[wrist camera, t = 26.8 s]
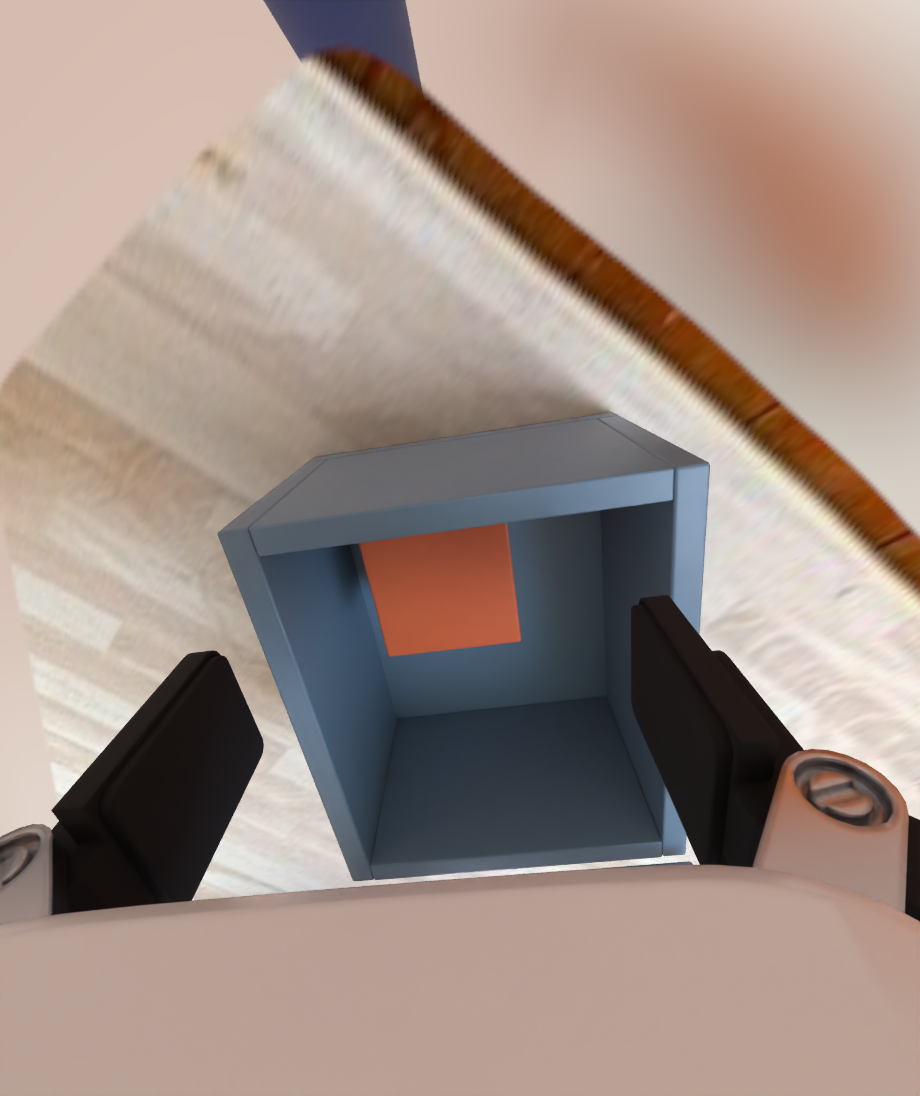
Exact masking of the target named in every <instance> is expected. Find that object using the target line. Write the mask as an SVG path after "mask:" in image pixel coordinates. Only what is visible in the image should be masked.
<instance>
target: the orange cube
mask: <svg viewBox="0 0 920 1096" xmlns="http://www.w3.org/2000/svg"><path fill="white" fill-rule="evenodd" d="M359 546H360V550H361V554H362V558H363V562H364V565H365V569H366V573H367V577H368V581H369V584H370V588H371V592H372V596H373V600H374V604H375V607H376V611H377V615H378V619H379V623H380V627H381V630H382V634H383V638H384V642H385V646H386V650H387V653H388V656H389V657H392V656H401V655H409V654H418V653H427V652H435V651H444V650H452V649H461V648H469V647H478V646H487V645H495V644H504V643H512V642H520V641H521V632H520V624H519V616H518V607H517V599H516V591H515V582H514V574H513V566H512V557H511V549H510V540H509V532H508V524H507V523H504V524H496V525H489V526H482V527H474V528H467V529H460V530H452V531H445V532H438V533H430V534H423V535H416V536H408V537H401V538H394V539H386V540H379V541H372V542H364V543H359Z"/></svg>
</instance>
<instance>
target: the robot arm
mask: <svg viewBox="0 0 920 1096" xmlns="http://www.w3.org/2000/svg"><path fill="white" fill-rule="evenodd" d="M631 702H632V708H633V712H634V715H635V718H636V720H637V723H638V725H639V727H640V729H641V732H642V734H643V736H644V739H645V741H646V743H647V745H648V748H649V750H650V752H651V755H652V757H653V759H654V761H655V764H656V766H657V768H658V771H659V773H660V775H661V777H662V780H663V782H664V784H665V787H666V789H667V791H668V793H669V796H670V798H671V800H672V802H673V805H674V807H675V809H676V812H677V814H678V816H679V818H680V821H681V823H682V825H683V828H684V830H685V832H686V834H687V837H688V839H689V841H690V844H691V846H692V848H693V850H694V853H695V855H696V857H697V859H698V861H699V864H700V865H659V866H642V867H624V868H606V869H589V870H571V871H558V872H545V873H531V874H518V875H505V876H491V877H478V878H465V879H452V880H438V881H425V882H413V883H400V884H388V885H375V886H363V887H351V888H338V889H326V890H314V891H302V892H290V893H278V894H265V895H254V896H243V897H231V898H220V899H208V900H197V901H192V899H193V897H194V895H195V893H196V891H197V889H198V886H199V884H200V882H201V880H202V878H203V876H204V874H205V872H206V870H207V868H208V866H209V864H210V862H211V860H212V858H213V855H214V853H215V851H216V849H217V847H218V845H219V843H220V841H221V839H222V837H223V835H224V833H225V831H226V829H227V827H228V825H229V822H230V820H231V818H232V816H233V814H234V812H235V810H236V808H237V806H238V804H239V802H240V800H241V798H242V796H243V794H244V791H245V789H246V787H247V785H248V783H249V781H250V779H251V777H252V775H253V773H254V771H255V769H256V767H257V765H258V763H259V760H260V758H261V756H262V754H263V747H264V744H263V739H262V736H261V734H260V732H259V730H258V727H257V725H256V723H255V721H254V718H253V716H252V714H251V711H250V709H249V707H248V705H247V702H246V700H245V698H244V696H243V693H242V691H241V689H240V686H239V684H238V682H237V680H236V677H235V675H234V673H233V671H232V668H231V666H230V664H229V662H228V660H227V658H226V657H225V656H221V655H220V654H219V653H218V652H217V651H205V652H197V653H190V654H188V655H186V656H185V657H184V658H183V660H182V661H181V662H180V663H179V664H178V665H177V666H176V668H175V669H174V670H173V671H172V672H171V673H170V674H169V676H168V677H167V678H166V679H165V680H164V681H163V683H162V684H161V685H160V686H159V687H158V688H157V689H156V691H155V692H154V693H153V694H152V695H151V696H150V697H149V699H148V700H147V701H146V702H145V703H144V704H143V706H142V707H141V708H140V709H139V710H138V711H137V712H136V714H135V715H134V716H133V717H132V718H131V719H130V720H129V722H128V723H127V724H126V725H125V726H124V727H123V729H122V730H121V731H120V732H119V733H118V734H117V735H116V737H115V738H114V739H113V740H112V741H111V742H110V743H109V745H108V746H107V747H106V748H105V749H104V750H103V752H102V753H101V754H100V755H99V756H98V757H97V758H96V760H95V761H94V762H93V763H92V764H91V765H90V766H89V768H88V769H87V770H86V771H85V772H84V773H83V775H82V776H81V777H80V778H79V779H78V780H77V781H76V783H75V784H74V785H73V786H72V787H71V788H70V790H69V791H68V792H67V793H66V794H65V795H64V796H63V798H62V799H61V800H60V801H59V802H58V803H57V804H56V806H55V807H54V808H53V809H52V812H53V813H54V815H55V816H56V817H57V819H58V820H59V822H58V823H57V825H56V826H55V827H54V828H53V829H52V830H51V829H50V828H49V827H46V826H45V825H43V824H34V825H33V824H32V825H29V826H25V827H21V828H19V829H16V830H14V831H12V832H9V833H8V834H5V835H3V836H1V837H0V1096H920V820H918V819H916V818H914V817H912V816H909V815H908V810H907V805H906V802H905V800H904V799H903V797H902V796H901V794H900V792H899V791H898V789H897V788H896V787H895V786H894V785H893V784H892V783H891V782H890V781H889V780H888V779H887V778H886V777H885V776H883V775H882V774H881V773H879V772H878V771H876V770H875V769H873V768H872V767H870V766H869V765H867V764H866V763H863V762H861V761H859V760H857V759H854V758H852V757H850V756H848V755H844V754H840V753H837V752H833V751H829V750H817V749H810V750H803V748H802V747H801V746H800V745H799V743H798V742H797V741H796V740H795V738H794V737H793V736H792V735H791V734H790V732H789V731H788V730H787V729H786V727H785V726H784V725H783V724H782V722H781V721H780V720H779V719H778V717H777V716H776V715H775V714H774V712H773V711H772V710H771V709H770V707H769V706H768V705H767V704H766V703H765V701H764V700H763V699H762V698H761V696H760V695H759V694H758V693H757V691H756V690H755V689H754V688H753V686H752V685H751V684H750V683H749V681H748V680H747V679H746V678H745V677H744V675H743V674H742V673H741V672H740V670H739V669H738V668H737V667H736V665H735V664H734V663H733V662H732V660H731V659H730V658H729V657H728V656H727V655H726V654H725V653H724V652H722V651H719V650H718V651H711V649H710V648H709V647H708V645H707V644H706V643H705V642H704V640H703V639H702V638H701V636H700V635H699V634H698V632H697V631H696V630H695V629H694V627H693V626H692V625H691V623H690V622H689V621H688V619H687V618H686V617H685V616H684V614H683V613H682V612H681V610H680V609H679V608H678V606H677V605H676V604H675V603H674V601H673V600H672V599H671V597H670V596H668V595H661V596H653V597H645V598H641V599H640V600H639V605H634V606H632V607H631Z"/></svg>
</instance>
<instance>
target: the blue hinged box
mask: <svg viewBox="0 0 920 1096" xmlns="http://www.w3.org/2000/svg"><path fill="white" fill-rule="evenodd" d="M709 473H710V465H709V463H708V462H706V461H704V460H702V459H701V458H699V457H697V456H695V455H693V454H691V453H689V452H687V451H685V450H683V449H681V448H679V447H678V446H676V445H674V444H672V443H670V442H668V441H666V440H664V439H662V438H660V437H658V436H656V435H655V434H653V433H651V432H649V431H647V430H645V429H643V428H641V427H639V426H637V425H635V424H634V423H632V422H630V421H628V420H626V419H624V418H622V417H620V416H618V415H617V414H615V413H612V412H610V413H603V414H597V415H590V416H584V417H577V418H570V419H564V420H557V421H551V422H544V423H537V424H531V425H524V426H518V427H511V428H505V429H498V430H491V431H485V432H478V433H472V434H465V435H458V436H452V437H445V438H439V439H432V440H425V441H419V442H412V443H406V444H399V445H392V446H386V447H379V448H373V449H366V450H359V451H353V452H346V453H340V454H333V455H326V456H320V457H314V458H313V459H311V460H310V461H309V462H308V463H306V464H305V465H304V466H302V467H301V468H300V469H299V470H297V471H296V472H295V473H293V474H292V475H291V476H290V477H288V478H287V479H286V480H284V481H283V482H282V483H281V484H279V485H278V486H277V487H275V488H274V489H273V490H272V491H270V492H269V493H268V494H267V495H265V496H264V497H263V498H261V499H260V500H259V501H258V502H256V503H255V504H254V505H252V506H251V507H250V508H249V509H247V510H246V511H245V512H243V513H242V514H241V515H240V516H238V517H237V518H236V519H234V520H233V521H232V522H231V523H229V524H228V525H227V526H226V527H224V528H223V529H222V530H220V531H219V532H218V536H219V539H220V542H221V544H222V547H223V549H224V552H225V554H226V557H227V559H228V562H229V565H230V567H231V570H232V572H233V575H234V577H235V580H236V582H237V585H238V588H239V590H240V593H241V595H242V598H243V600H244V603H245V605H246V608H247V611H248V613H249V616H250V618H251V621H252V623H253V626H254V629H255V631H256V634H257V636H258V639H259V641H260V644H261V646H262V649H263V652H264V654H265V657H266V659H267V662H268V664H269V667H270V669H271V672H272V675H273V677H274V680H275V682H276V685H277V687H278V690H279V692H280V695H281V698H282V700H283V703H284V705H285V708H286V710H287V713H288V715H289V718H290V721H291V723H292V726H293V728H294V731H295V733H296V736H297V738H298V741H299V744H300V746H301V749H302V751H303V754H304V756H305V759H306V761H307V764H308V767H309V769H310V772H311V774H312V777H313V779H314V782H315V785H316V787H317V790H318V792H319V795H320V797H321V800H322V802H323V805H324V808H325V810H326V813H327V815H328V818H329V820H330V823H331V825H332V828H333V831H334V833H335V836H336V838H337V841H338V843H339V846H340V848H341V851H342V854H343V856H344V859H345V861H346V864H347V866H348V869H349V871H350V874H351V877H352V879H353V881H363V880H373V879H375V880H381V879H393V878H406V877H418V876H431V875H443V874H456V873H468V872H480V871H493V870H505V869H518V868H530V867H543V866H555V865H568V864H580V863H593V862H605V861H617V860H630V859H642V858H655V857H661V856H662V855H663V856H672V855H683V854H685V851H686V835H687V834H686V832H685V830H684V828H683V825H682V823H681V821H680V818H679V816H678V814H677V812H676V809H675V807H674V805H673V802H672V800H671V798H670V796H669V793H668V791H667V789H666V787H665V784H664V782H663V780H662V777H661V775H660V773H659V771H658V768H657V766H656V764H655V761H654V759H653V757H652V755H651V752H650V750H649V748H648V745H647V743H646V741H645V739H644V736H643V734H642V732H641V729H640V727H639V725H638V723H637V720H636V718H635V715H634V712H633V708H632V702H631V607H632V606H634V605H639V600H640V599H641V598H645V597H653V596H661V595H668V596H670V597H671V599H672V600H673V601H674V603H675V604H676V605H677V606H678V608H679V609H680V610H681V612H682V613H683V614H684V616H685V617H686V618H687V619H688V621H689V622H690V623H691V625H692V626H693V627H694V629H695V630H696V631H697V632H698V634H699V631H700V615H701V599H702V583H703V568H704V552H705V536H706V520H707V505H708V489H709ZM504 523H507V524H508V532H509V540H510V549H511V557H512V566H513V574H514V582H515V591H516V599H517V607H518V616H519V624H520V632H521V641H520V642H512V643H504V644H495V645H487V646H478V647H469V648H461V649H452V650H444V651H435V652H427V653H418V654H409V655H401V656H392V657H389V656H388V653H387V650H386V646H385V642H384V638H383V634H382V630H381V627H380V623H379V619H378V615H377V611H376V607H375V604H374V600H373V596H372V592H371V588H370V584H369V581H368V577H367V573H366V569H365V565H364V562H363V558H362V554H361V550H360V546H359V543H364V542H372V541H379V540H386V539H394V538H401V537H408V536H416V535H423V534H430V533H438V532H445V531H452V530H460V529H467V528H474V527H482V526H489V525H496V524H504Z"/></svg>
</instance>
